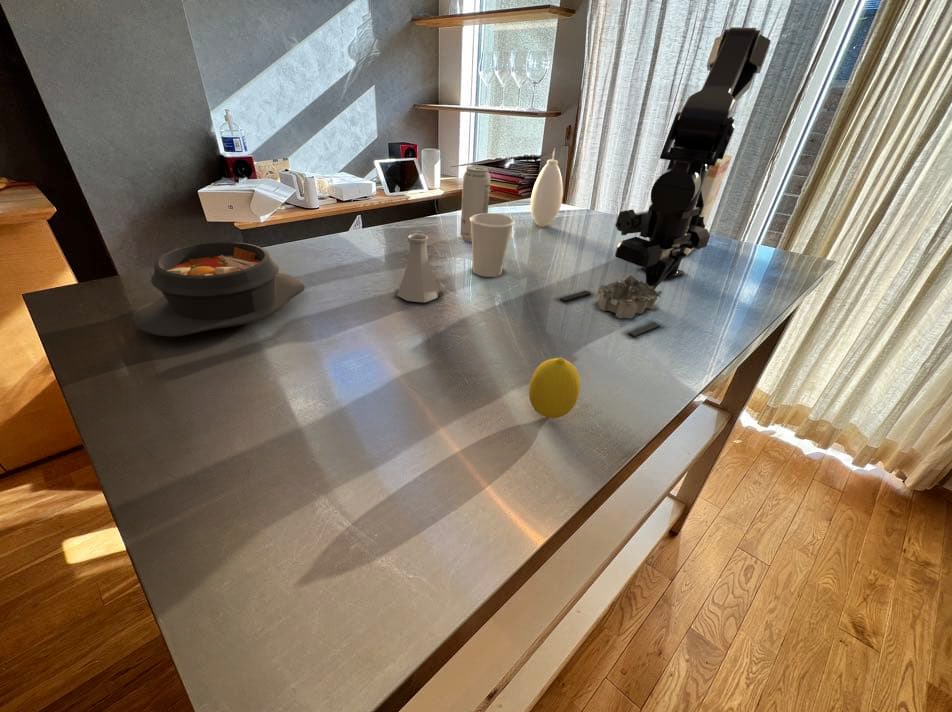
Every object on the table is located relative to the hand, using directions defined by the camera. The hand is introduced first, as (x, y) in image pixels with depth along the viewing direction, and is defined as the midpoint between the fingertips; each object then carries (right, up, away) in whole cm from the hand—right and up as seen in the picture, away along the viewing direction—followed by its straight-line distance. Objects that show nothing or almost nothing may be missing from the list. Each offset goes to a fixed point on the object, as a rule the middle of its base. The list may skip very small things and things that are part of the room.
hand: (649, 291), depth 80 cm
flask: (-42, -2, -3) cm, 42 cm away
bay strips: (-9, -5, -5) cm, 11 cm away
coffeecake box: (+20, +19, +29) cm, 40 cm away
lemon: (-24, -22, -28) cm, 44 cm away
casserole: (-71, -6, -12) cm, 72 cm away
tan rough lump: (-5, -3, -2) cm, 7 cm away
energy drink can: (-32, +18, +24) cm, 44 cm away
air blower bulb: (-13, +27, +36) cm, 47 cm away
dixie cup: (-29, +6, +8) cm, 31 cm away
